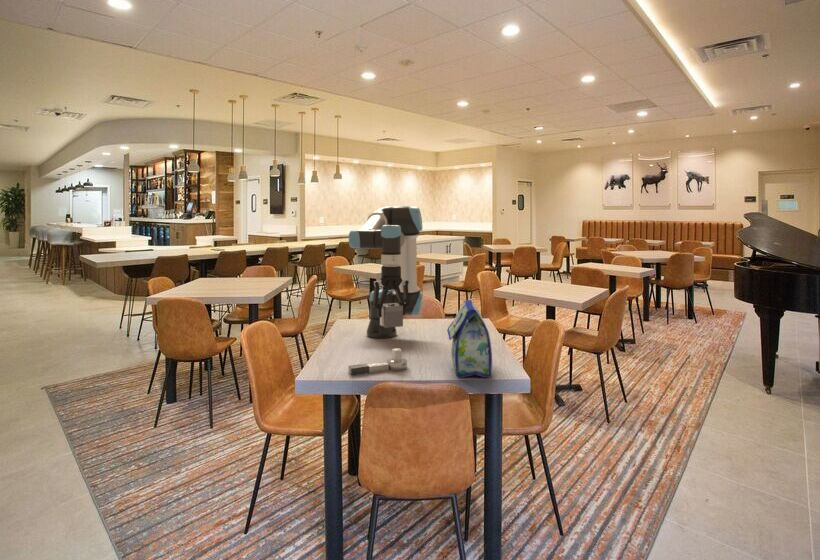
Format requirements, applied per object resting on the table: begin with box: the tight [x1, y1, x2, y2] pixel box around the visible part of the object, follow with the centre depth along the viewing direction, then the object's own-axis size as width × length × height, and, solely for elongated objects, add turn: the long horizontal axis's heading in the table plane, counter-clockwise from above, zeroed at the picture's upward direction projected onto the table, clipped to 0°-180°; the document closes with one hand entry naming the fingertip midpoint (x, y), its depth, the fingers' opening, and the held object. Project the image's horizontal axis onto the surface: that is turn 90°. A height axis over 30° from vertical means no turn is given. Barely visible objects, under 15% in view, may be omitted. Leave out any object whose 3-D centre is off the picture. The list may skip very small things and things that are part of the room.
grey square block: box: [382, 303, 404, 328], centre depth 185 cm, size 7×7×8 cm
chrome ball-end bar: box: [348, 347, 408, 376], centre depth 184 cm, size 8×23×8 cm, turn 113°
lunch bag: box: [447, 299, 493, 378], centre depth 183 cm, size 22×17×26 cm
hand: (391, 324), depth 185 cm, fingers closed on grey square block, 7 cm apart
